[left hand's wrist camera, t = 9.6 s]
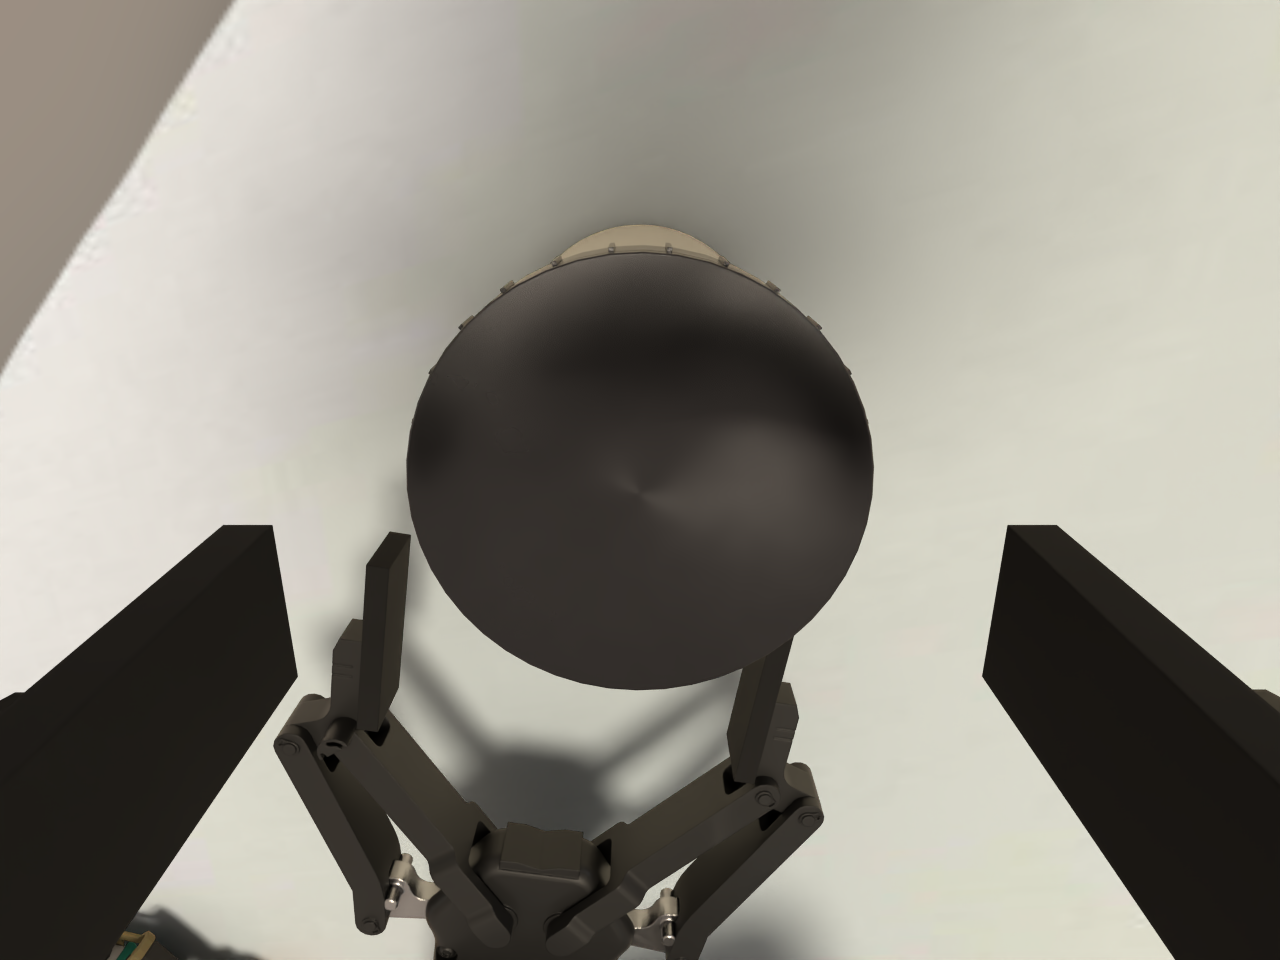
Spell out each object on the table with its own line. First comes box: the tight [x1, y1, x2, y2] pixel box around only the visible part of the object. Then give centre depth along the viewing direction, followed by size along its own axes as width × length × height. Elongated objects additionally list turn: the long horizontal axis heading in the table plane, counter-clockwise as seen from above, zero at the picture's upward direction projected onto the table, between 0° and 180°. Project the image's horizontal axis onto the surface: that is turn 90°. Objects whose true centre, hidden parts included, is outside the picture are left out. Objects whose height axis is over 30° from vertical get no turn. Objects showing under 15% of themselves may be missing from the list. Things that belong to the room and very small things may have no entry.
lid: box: [406, 243, 874, 690], centre depth 18 cm, size 10×10×2 cm
